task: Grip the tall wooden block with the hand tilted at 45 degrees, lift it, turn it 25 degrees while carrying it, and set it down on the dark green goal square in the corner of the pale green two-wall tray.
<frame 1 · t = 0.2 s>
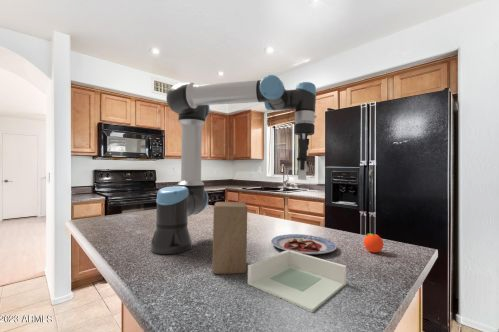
hand: (302, 179, 95), 28 cm above the countertop, tool pointing down, fingers open, 13 cm apart
wooden block: (229, 268, 79), on the countertop
corner arena: (298, 285, 67), on the countertop
ceramic plate: (302, 248, 101), on the countertop
clementine: (371, 252, 97), on the countertop
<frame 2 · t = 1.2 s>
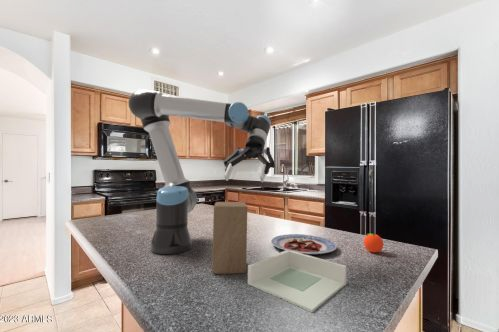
hand: (243, 178, 90), 28 cm above the countertop, tool tilted 45°, fingers open, 13 cm apart
nothing on the countertop moved.
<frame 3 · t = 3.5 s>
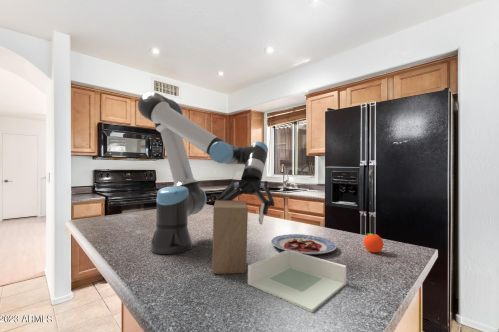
hand: (240, 220, 82), 14 cm above the countertop, tool tilted 45°, fingers open, 13 cm apart
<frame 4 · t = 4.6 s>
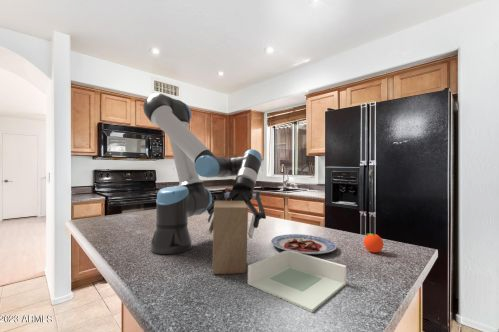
hand: (228, 234, 77), 11 cm above the countertop, tool tilted 45°, fingers open, 13 cm apart
wooden block: (228, 267, 79), on the countertop, touching gripper
everything else where it was.
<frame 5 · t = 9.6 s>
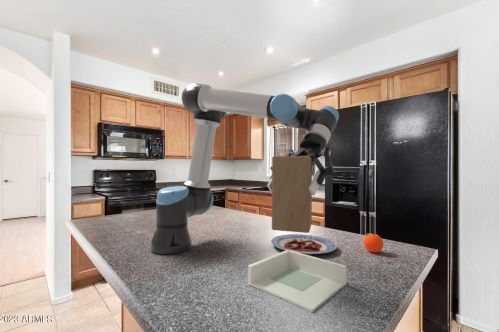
hand: (289, 190, 69), 25 cm above the countertop, tool tilted 45°, fingers closed on wooden block, 13 cm apart
wooden block: (292, 228, 71), point 15 cm above the countertop, touching gripper
everything else where it was.
when the fingers open (13 cm above the countertop, at t = 13.9 s): wooden block drops 1 cm, resting on corner arena.
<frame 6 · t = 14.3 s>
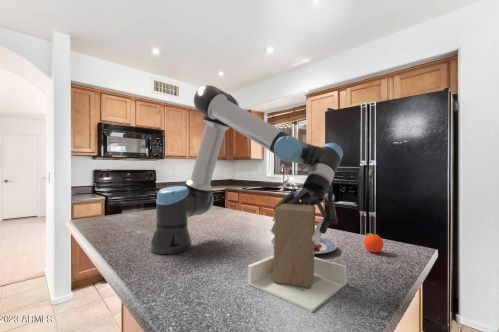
hand: (291, 237, 69), 13 cm above the countertop, tool tilted 45°, fingers open, 13 cm apart
wooden block: (294, 278, 70), point 1 cm above the countertop, touching corner arena, gripper
everything else where it was.
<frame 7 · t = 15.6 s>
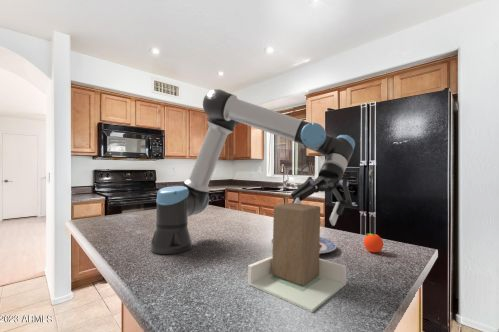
hand: (310, 219, 75), 16 cm above the countertop, tool tilted 45°, fingers open, 13 cm apart
wooden block: (295, 276, 72), point 1 cm above the countertop, touching corner arena
everything else where it was.
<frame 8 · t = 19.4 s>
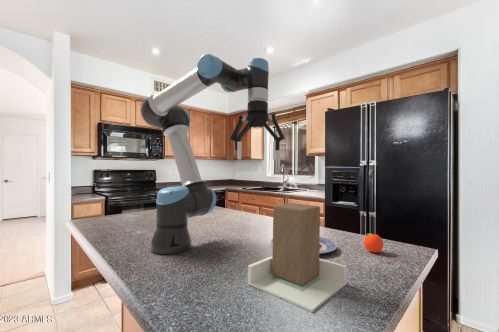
hand: (256, 159, 92), 35 cm above the countertop, tool pointing down, fingers open, 13 cm apart
nothing on the countertop moved.
at the end: wooden block 2.1 cm from the target spot on the corner arena, point 0.5 cm above the corner arena's base; wooden block tilted 0°; the gripper is holding nothing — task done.
